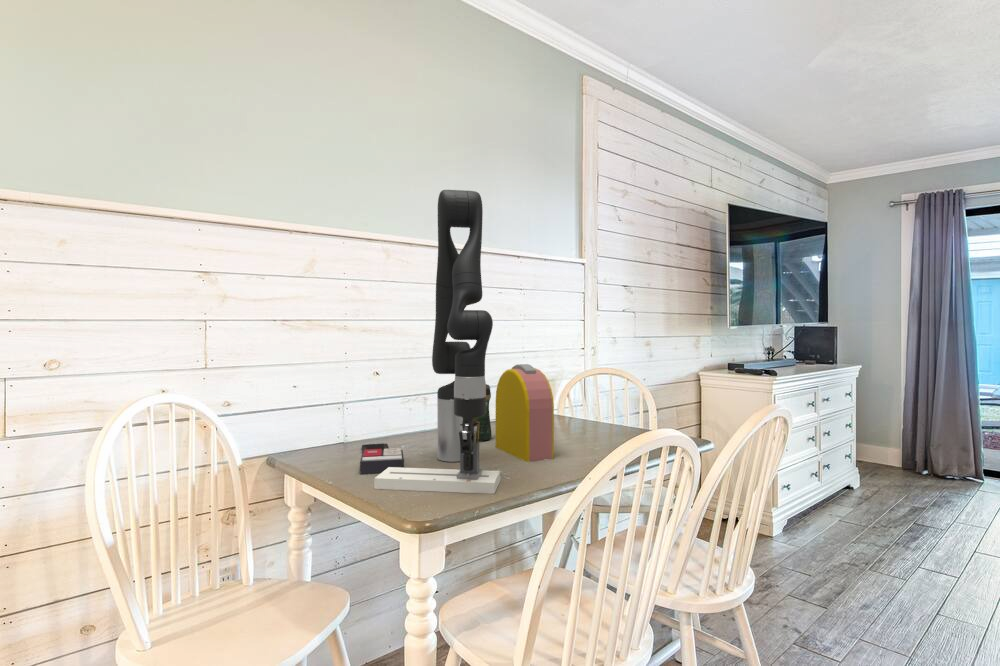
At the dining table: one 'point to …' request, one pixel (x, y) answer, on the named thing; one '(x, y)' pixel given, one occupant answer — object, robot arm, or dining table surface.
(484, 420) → the coffee jar
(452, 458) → the robot arm
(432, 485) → the fader console
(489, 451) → the dining table surface
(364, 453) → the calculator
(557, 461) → the dining table surface
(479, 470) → the fader tab
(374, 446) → the phone
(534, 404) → the lunch box
